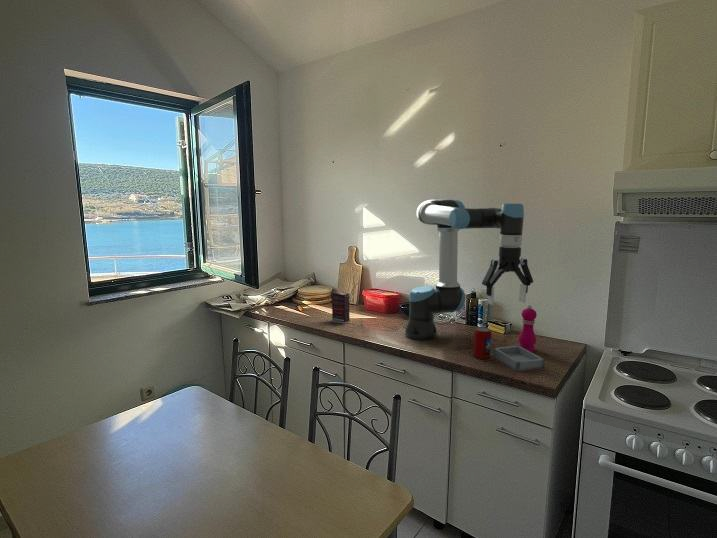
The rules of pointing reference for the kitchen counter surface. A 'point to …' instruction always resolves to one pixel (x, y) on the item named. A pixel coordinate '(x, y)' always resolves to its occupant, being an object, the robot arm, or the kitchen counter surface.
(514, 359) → the tray
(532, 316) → the pepper mill
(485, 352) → the beverage can
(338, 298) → the supplement box
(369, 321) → the kitchen counter surface
